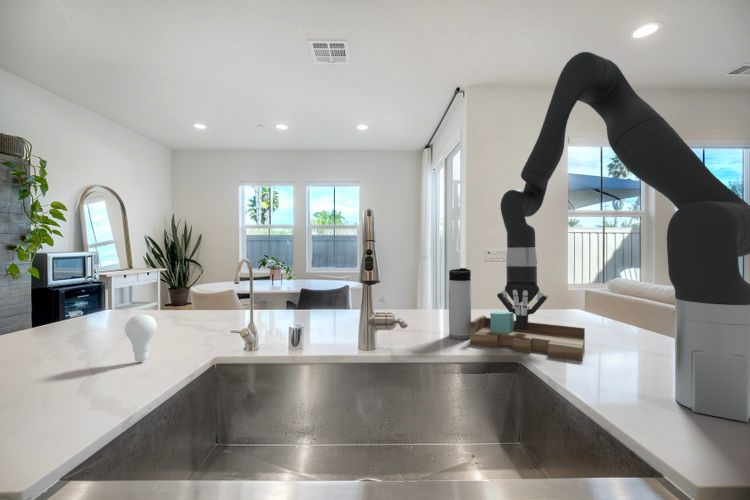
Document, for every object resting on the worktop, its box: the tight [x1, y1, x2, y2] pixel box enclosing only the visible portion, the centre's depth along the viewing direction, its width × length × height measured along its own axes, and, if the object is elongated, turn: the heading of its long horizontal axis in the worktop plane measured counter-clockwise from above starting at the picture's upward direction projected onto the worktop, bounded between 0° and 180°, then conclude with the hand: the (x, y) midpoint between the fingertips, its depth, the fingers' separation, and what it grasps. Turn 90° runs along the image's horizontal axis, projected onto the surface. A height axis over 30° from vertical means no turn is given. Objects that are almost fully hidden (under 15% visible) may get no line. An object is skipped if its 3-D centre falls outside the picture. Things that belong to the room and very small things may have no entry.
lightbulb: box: [124, 313, 158, 363], centre depth 80 cm, size 6×6×11 cm
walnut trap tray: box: [469, 315, 586, 362], centre depth 91 cm, size 11×26×6 cm, turn 56°
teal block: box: [490, 310, 515, 334], centre depth 96 cm, size 5×5×5 cm
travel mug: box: [448, 267, 472, 341], centre depth 102 cm, size 6×7×20 cm
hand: (522, 328), depth 93 cm, fingers closed
